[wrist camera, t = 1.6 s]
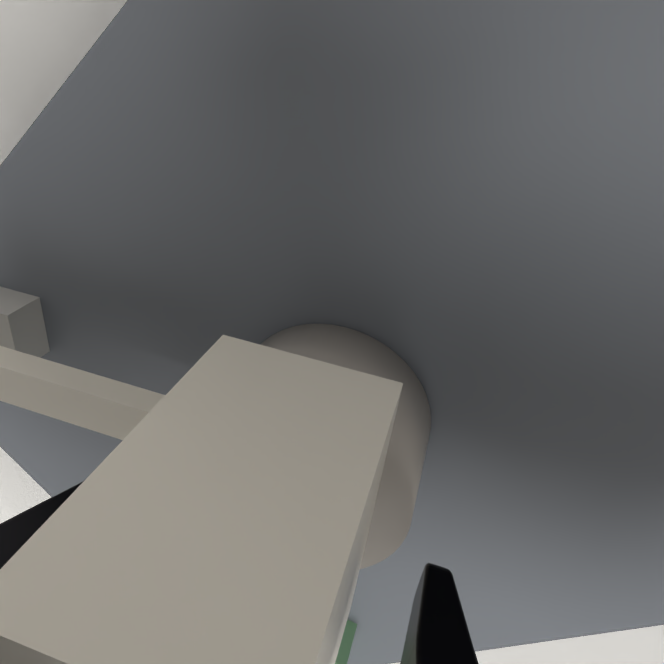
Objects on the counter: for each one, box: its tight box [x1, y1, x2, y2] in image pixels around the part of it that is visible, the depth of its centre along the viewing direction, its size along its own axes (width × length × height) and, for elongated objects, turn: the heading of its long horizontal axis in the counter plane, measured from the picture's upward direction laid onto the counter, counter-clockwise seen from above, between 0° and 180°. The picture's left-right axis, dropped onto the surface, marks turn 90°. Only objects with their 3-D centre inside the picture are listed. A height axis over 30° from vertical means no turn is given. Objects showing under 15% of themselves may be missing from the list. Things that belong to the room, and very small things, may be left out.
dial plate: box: [0, 0, 664, 664], centre depth 12 cm, size 22×17×3 cm
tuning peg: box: [0, 324, 431, 664], centre depth 10 cm, size 12×6×8 cm, turn 84°
